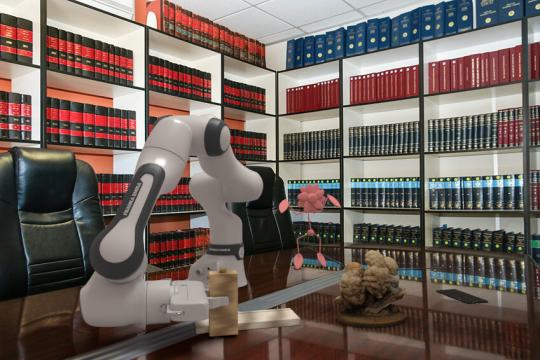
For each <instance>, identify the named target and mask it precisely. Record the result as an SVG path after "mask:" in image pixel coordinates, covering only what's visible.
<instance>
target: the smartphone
mask: <svg viewBox="0 0 540 360" xmlns="http://www.w3.org/2000/svg"><path fill="white" fill-rule="evenodd" d="M435 292H436V293H438V294H440V295H442V294H443V295H442V296H446V297H448V298H451V299H452V300H455V301H458V302H460V301H461V303H464V304H465V303H466V305H474V304H475V305H476V303H478V304H487V303H489V301H488V300H487V299H485V298H481V297H479V296H475V295H473V294H470V293H468V292H464V291H462V290H458V289H457V288H450V289H449V288H448V289H437V290H435Z"/></svg>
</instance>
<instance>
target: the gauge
mask: <svg viewBox="0 0 540 360" xmlns="http://www.w3.org/2000/svg"><path fill="white" fill-rule="evenodd" d="M220 296H228V298H229V304H228V305H227V306H220V307H217V308H214V309H209V333H208V334H209V337H219V336H230V335H231V336H232V335H239V330H238V312H239V287H238V273H237V272H236V270H228V271H227V268H226V267H220V268H219V271H209V297H212V298H214V297H220Z"/></svg>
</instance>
